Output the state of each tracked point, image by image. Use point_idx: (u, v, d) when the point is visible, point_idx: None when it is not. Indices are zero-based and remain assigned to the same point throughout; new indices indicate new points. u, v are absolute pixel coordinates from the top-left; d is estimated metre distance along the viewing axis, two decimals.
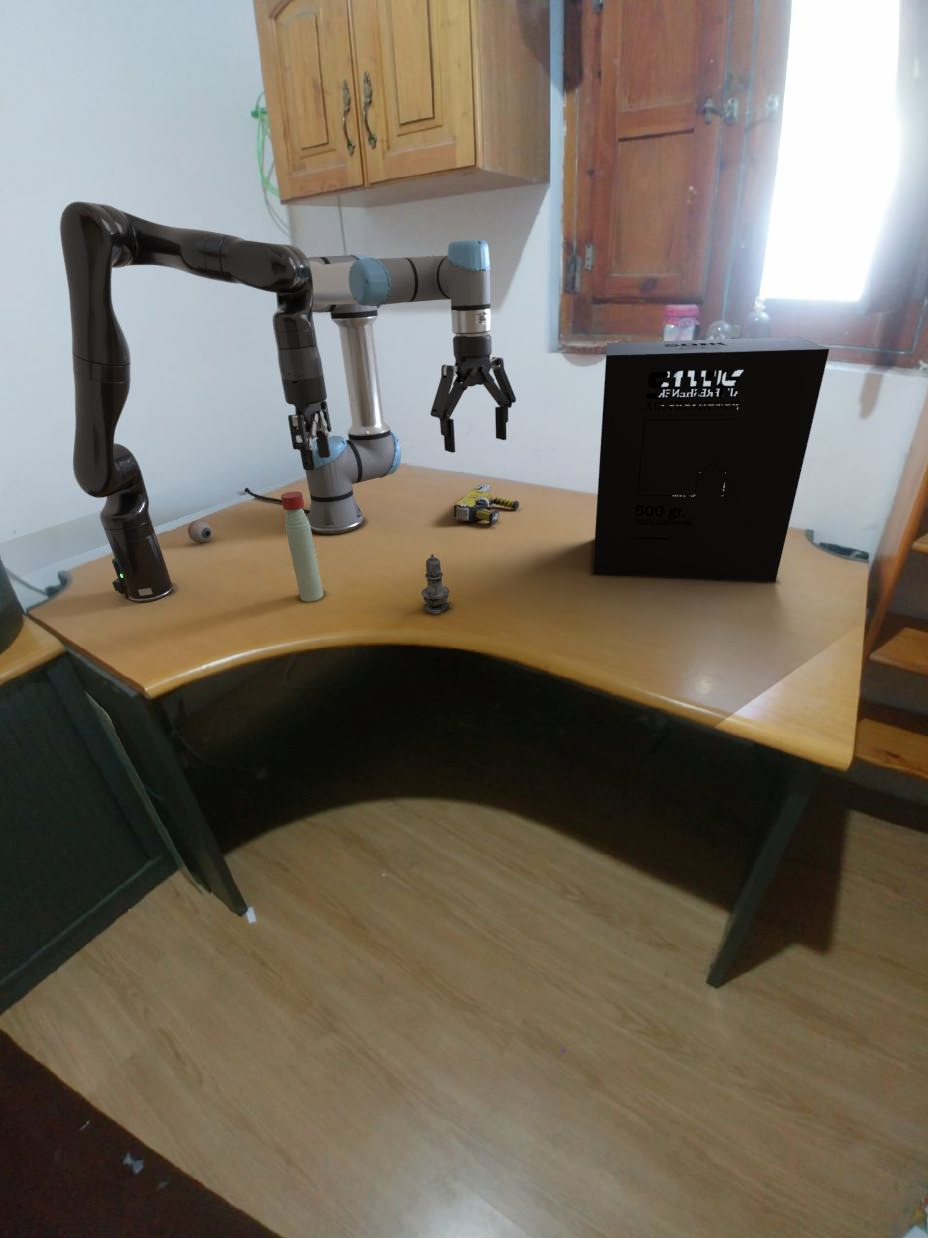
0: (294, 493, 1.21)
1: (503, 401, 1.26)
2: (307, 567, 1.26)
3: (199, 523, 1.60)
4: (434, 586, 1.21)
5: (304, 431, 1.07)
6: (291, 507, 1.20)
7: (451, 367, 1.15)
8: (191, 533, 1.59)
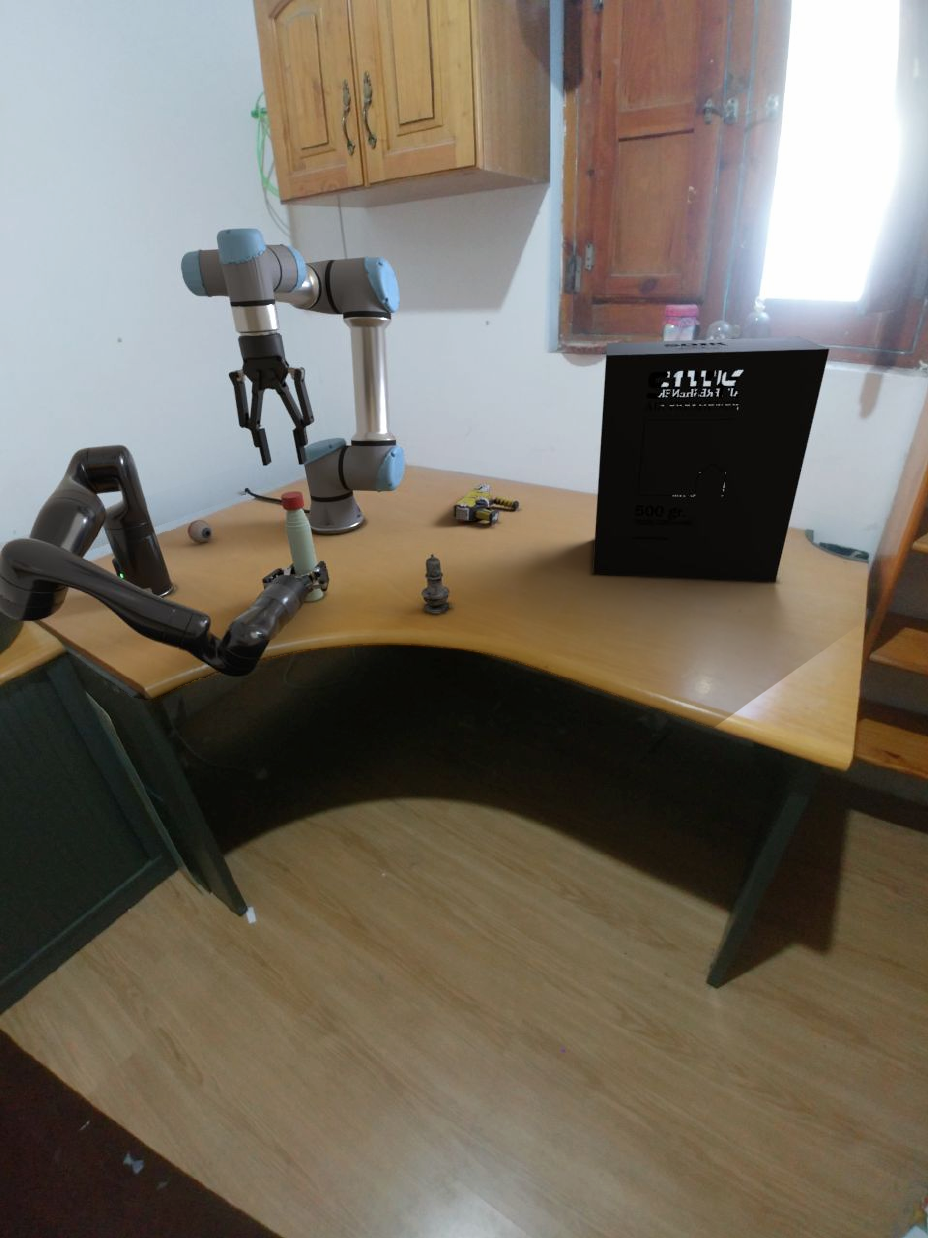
0: (294, 493, 1.21)
1: None
2: (307, 567, 1.26)
3: (199, 523, 1.60)
4: (434, 586, 1.21)
5: (323, 574, 1.24)
6: (291, 507, 1.20)
7: None
8: (191, 533, 1.59)
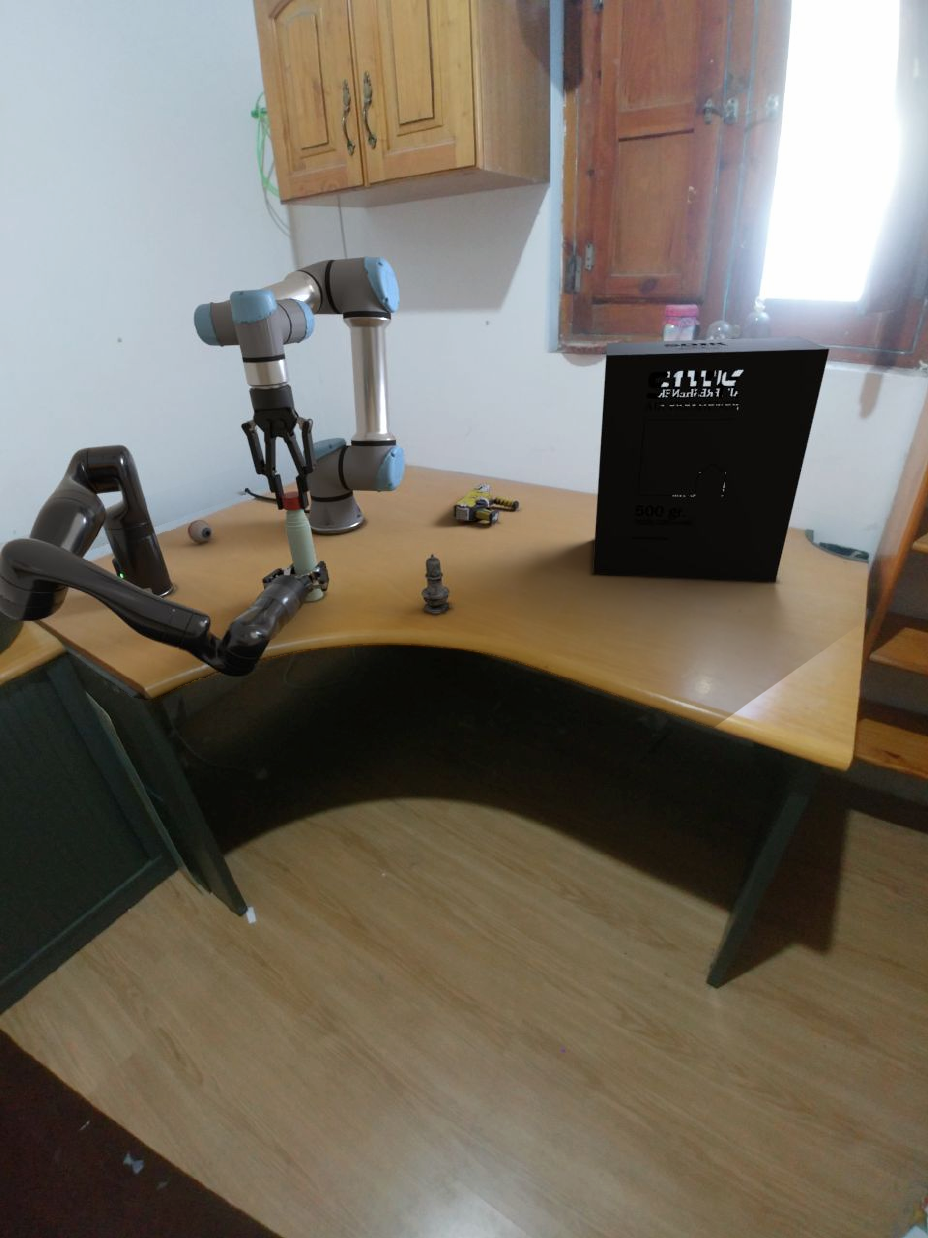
0: (294, 493, 1.21)
1: None
2: (307, 567, 1.26)
3: (199, 523, 1.60)
4: (434, 586, 1.21)
5: (323, 574, 1.24)
6: (291, 507, 1.20)
7: None
8: (191, 533, 1.59)
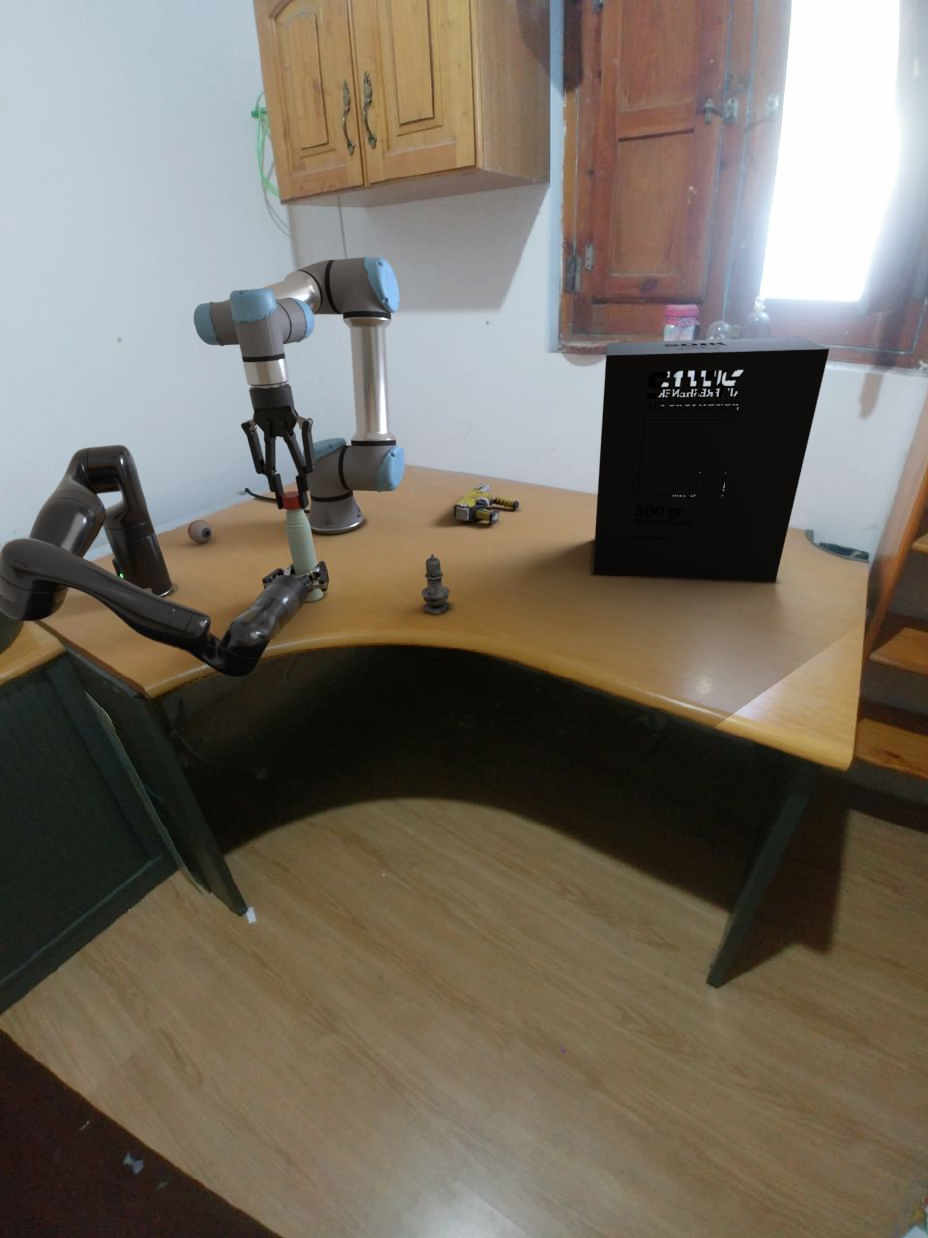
0: (288, 493, 1.21)
1: None
2: (307, 567, 1.26)
3: (199, 523, 1.60)
4: (434, 586, 1.21)
5: (323, 574, 1.24)
6: None
7: None
8: (191, 533, 1.59)
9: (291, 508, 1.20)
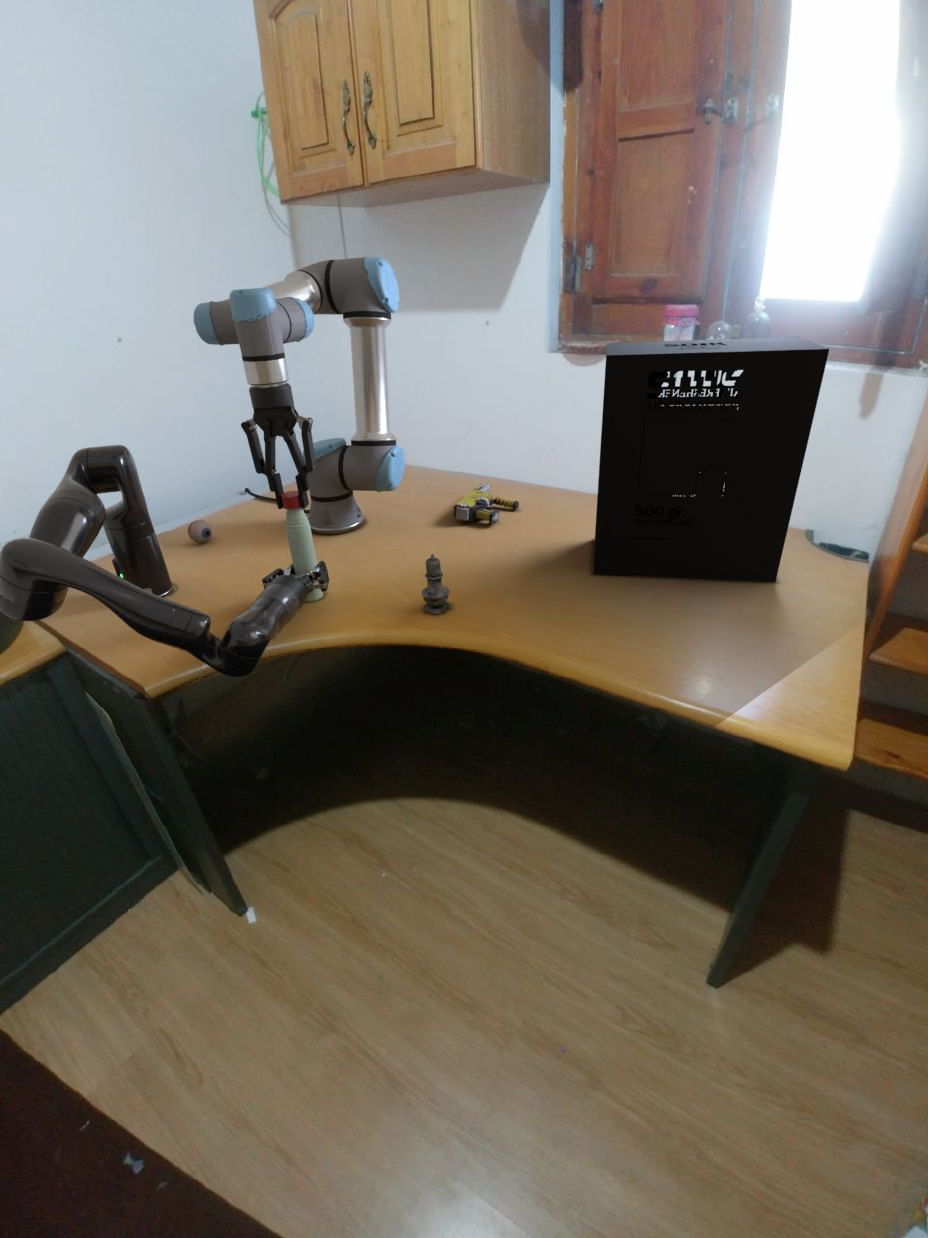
0: (288, 495, 1.20)
1: None
2: (307, 567, 1.26)
3: (199, 523, 1.60)
4: (434, 586, 1.21)
5: (323, 574, 1.24)
6: None
7: None
8: (191, 533, 1.59)
9: None
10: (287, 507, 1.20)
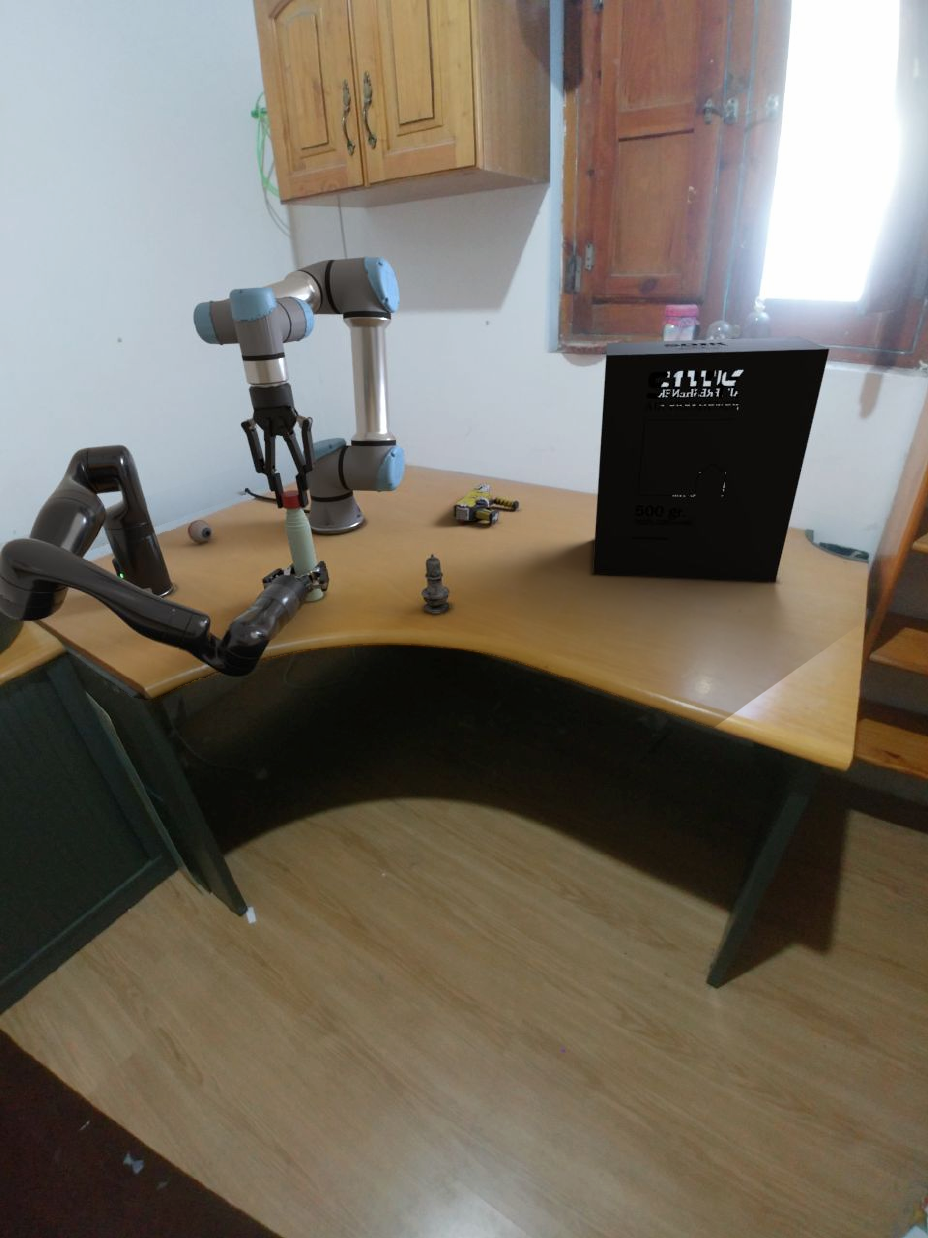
0: (294, 493, 1.20)
1: None
2: (307, 567, 1.26)
3: (199, 523, 1.60)
4: (434, 586, 1.21)
5: (323, 574, 1.24)
6: None
7: None
8: (191, 533, 1.59)
9: None
10: None
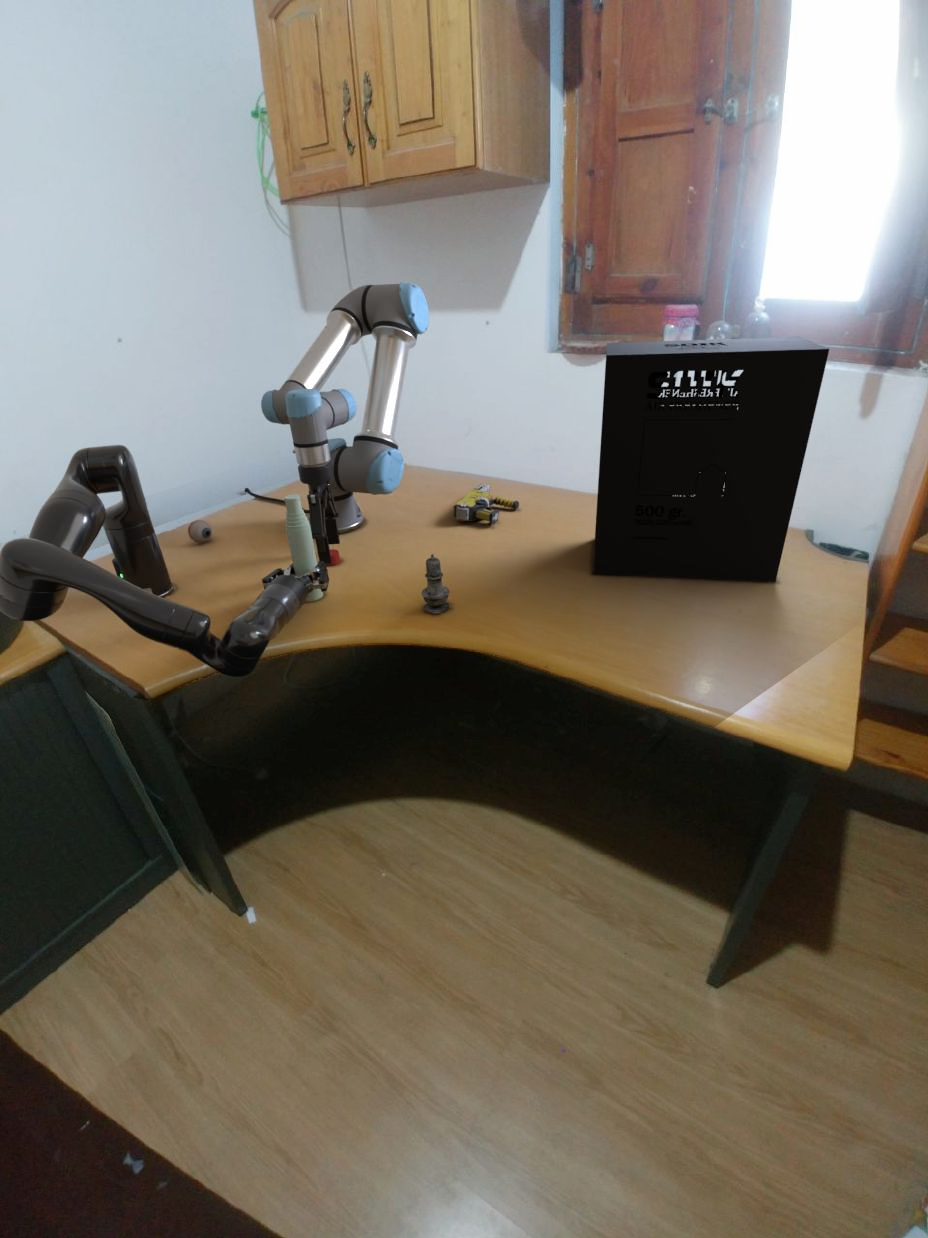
0: (331, 551, 1.47)
1: None
2: (307, 567, 1.26)
3: (199, 523, 1.60)
4: (434, 586, 1.21)
5: (323, 574, 1.24)
6: (333, 563, 1.46)
7: None
8: (191, 533, 1.59)
9: None
10: None
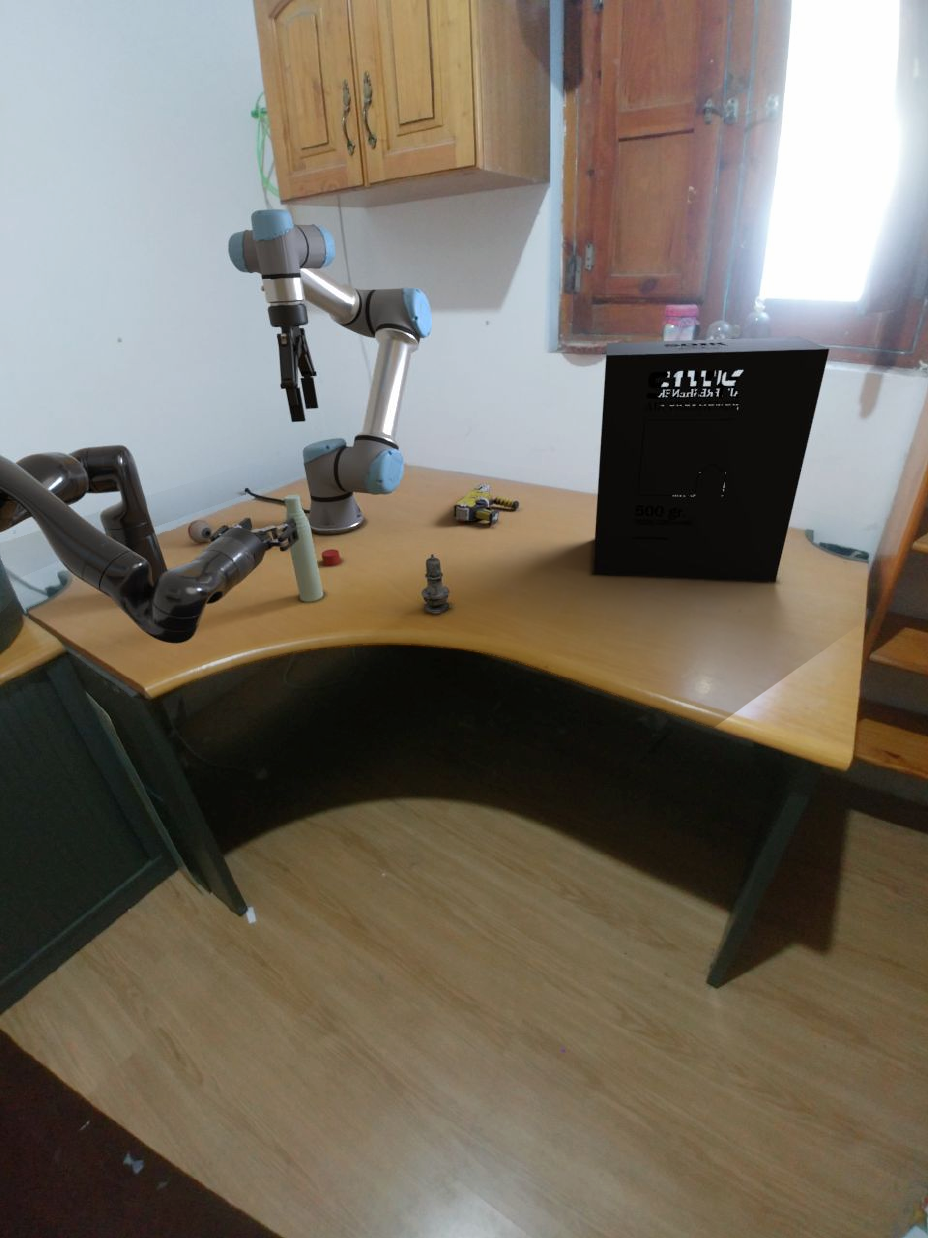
0: (331, 551, 1.47)
1: None
2: (307, 567, 1.26)
3: (199, 523, 1.60)
4: (434, 586, 1.21)
5: (287, 531, 1.05)
6: (333, 563, 1.46)
7: None
8: (191, 533, 1.59)
9: (323, 562, 1.47)
10: None
